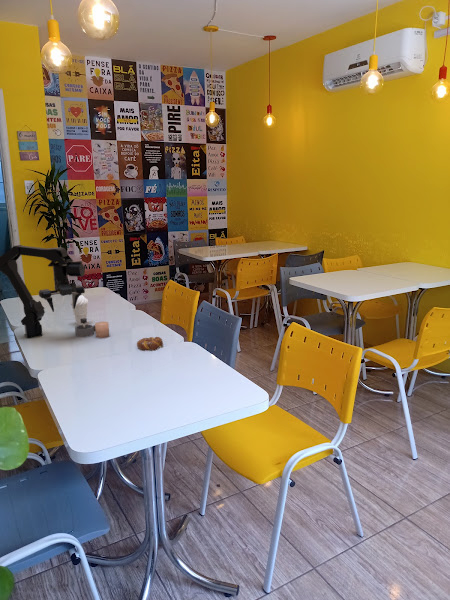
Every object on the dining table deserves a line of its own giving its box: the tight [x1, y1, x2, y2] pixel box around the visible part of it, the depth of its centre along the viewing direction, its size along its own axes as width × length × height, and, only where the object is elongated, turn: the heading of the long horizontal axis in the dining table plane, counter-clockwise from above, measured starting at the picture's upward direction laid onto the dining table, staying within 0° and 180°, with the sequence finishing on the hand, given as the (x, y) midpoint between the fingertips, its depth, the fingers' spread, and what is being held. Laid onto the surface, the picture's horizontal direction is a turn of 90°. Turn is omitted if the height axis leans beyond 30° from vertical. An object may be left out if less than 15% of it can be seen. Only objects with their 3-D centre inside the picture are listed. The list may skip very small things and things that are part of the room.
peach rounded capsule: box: [94, 321, 110, 339], centre depth 205 cm, size 6×6×6 cm
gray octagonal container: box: [74, 324, 96, 338], centre depth 208 cm, size 10×8×4 cm
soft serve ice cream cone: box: [70, 294, 89, 326], centre depth 223 cm, size 8×8×16 cm
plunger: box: [80, 317, 88, 329], centre depth 207 cm, size 6×6×7 cm
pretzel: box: [136, 336, 164, 351], centre depth 192 cm, size 12×11×4 cm
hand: (63, 310), depth 203 cm, fingers open, 9 cm apart
